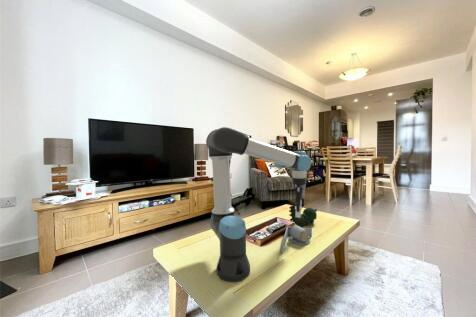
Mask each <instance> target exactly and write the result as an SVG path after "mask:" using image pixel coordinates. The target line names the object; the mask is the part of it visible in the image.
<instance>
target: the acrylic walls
mask: <svg viewBox="0 0 476 317" xmlns="http://www.w3.org/2000/svg"><path fill="white" fill-rule="evenodd" d="M292 227H293V226H291V225H290V226H289V225H287V226H286V228H285V229H286V230H285V233H284V236H283V238H282V243H281V254H283V255H284V253H285V248H286V244H287V240H288V236H289V235H290V231H291V228H292ZM302 228H303V229H305V230H306V231H307V232H308V235H309V236H310V237H309V238H312V237H313V228H312V227H311V228H309V227H302Z"/></svg>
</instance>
